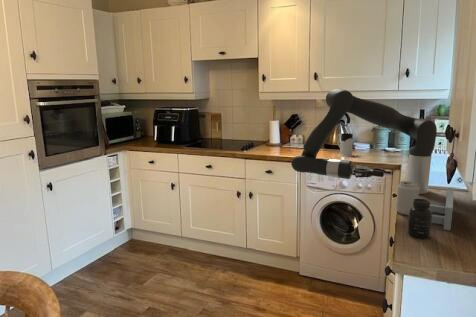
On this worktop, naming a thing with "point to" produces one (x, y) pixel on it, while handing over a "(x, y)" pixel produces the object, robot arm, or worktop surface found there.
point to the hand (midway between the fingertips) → (383, 174)
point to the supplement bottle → (420, 219)
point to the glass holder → (346, 144)
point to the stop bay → (444, 211)
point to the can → (406, 196)
